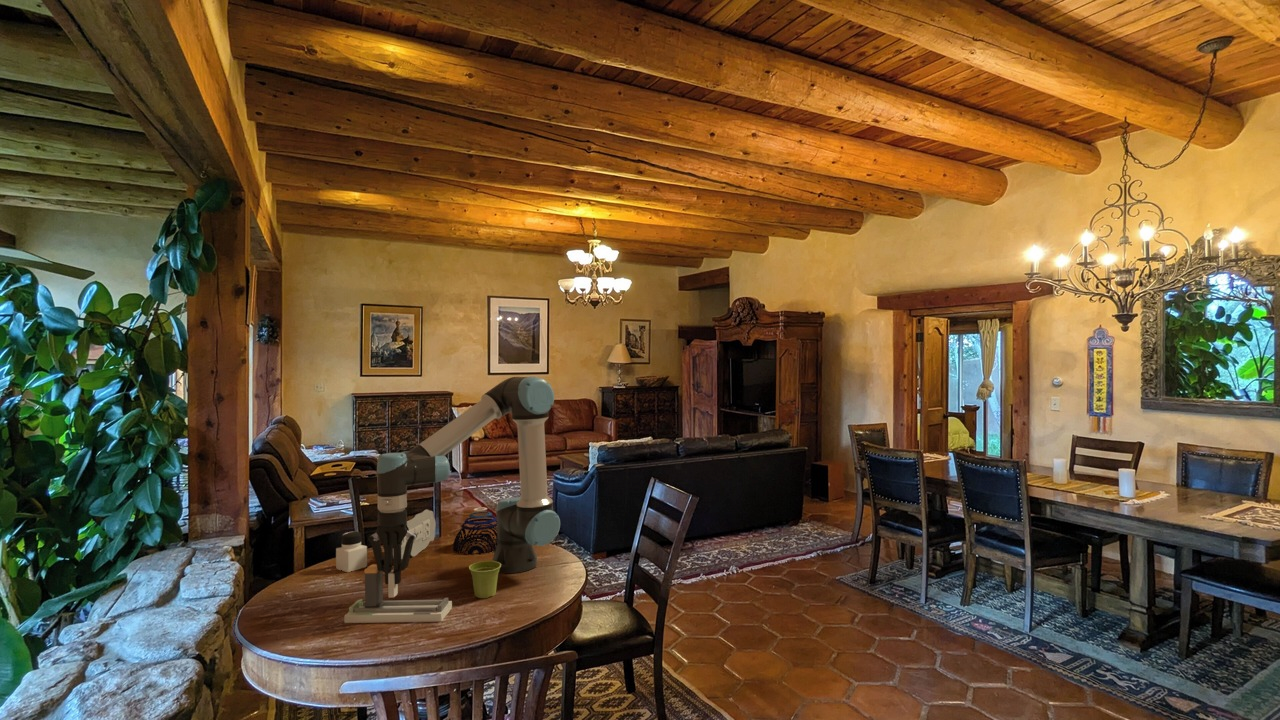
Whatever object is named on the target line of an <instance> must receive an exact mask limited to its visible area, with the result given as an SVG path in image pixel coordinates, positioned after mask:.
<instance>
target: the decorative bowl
mask: <svg viewBox="0 0 1280 720" xmlns="http://www.w3.org/2000/svg"><path fill="white" fill-rule="evenodd" d="M487 510H488V508H487V507H483V506H482V507H476V508H473V511H474V512H472V513H470V514H469V515H468V517H467V518H466V519H465V520H464V523H463V524H462V525H461V528H460V529H459V531H458V532H457V534H455V538H454V541H453V546H452V549H453V552H455V553H457V552H458V553H457V554H460V553H464V554H463V555H467V554H468V555H469V554H474V552H475V551H477V553H478V554H479V553H487V552H488V553H489V552H492V551H495V550H496V547H497V517H495V516H494V515H493V513H492V512H490V511H487ZM476 514H484V515H476ZM495 522H496V523H495ZM492 523H494V524H492ZM468 525H469V526H468ZM470 525H471V526H470ZM466 530H468V532H466ZM491 531H492V532H491ZM478 532H479V533H478ZM493 536H494V537H493ZM477 539H480V540H477ZM494 539H495V541H494ZM471 540H473V541H471ZM459 552H460V553H459ZM492 553H493V552H492Z"/></svg>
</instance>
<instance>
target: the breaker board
mask: <svg viewBox="0 0 1280 720" xmlns="http://www.w3.org/2000/svg"><path fill="white" fill-rule="evenodd" d="M383 601H384V606H383V607H373V608H365V600H364V599H363V598H359V599H358V600H356V601H355V602H354V603H353V604H352V605H350V606H349V607H348V612H347V613H345V614H344V621H343V622H344V624H352V623H353V624H360V623H361V624H367V623H368V624H369V623H372V624H373V623H375V624H376V623H424V622H425V623H427V622H429V623H430V622H431V623H432V622H435V623H436V622H443V620H444V619H445V617H446V616H447V615H448V614H449V612H451V610H452V609H453V602H452V600H449V597H444V598H443V599H407V600H406V599H402V600H401V599H400V600H399V599H397V600H390V599H389V600H383Z"/></svg>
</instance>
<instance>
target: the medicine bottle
mask: <svg viewBox="0 0 1280 720" xmlns="http://www.w3.org/2000/svg"><path fill="white" fill-rule="evenodd" d="M335 557H336V558H335V563H336V564H335V567H336V569H335V570H338V571H341V570H342V571H341V572H346V573H352V572H354V571H357V570H361V569H364V568H366V567H367V568H368V546H367V545H363V544H362V532H359V531H349V532H348V531H347V532H345V533H343V534H342V536H341V547H336V548H335ZM351 571H352V572H351Z"/></svg>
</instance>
